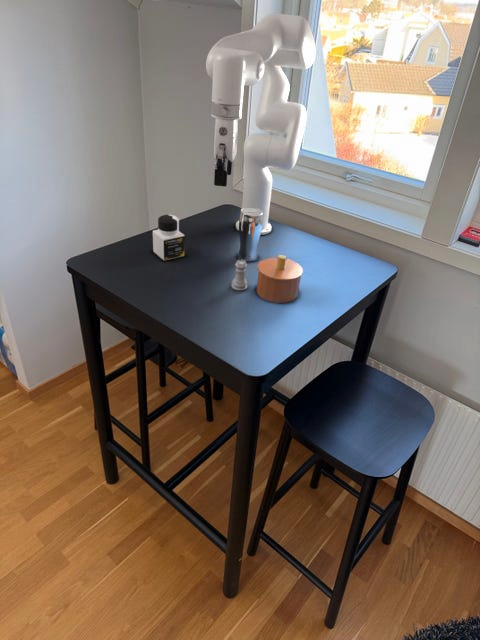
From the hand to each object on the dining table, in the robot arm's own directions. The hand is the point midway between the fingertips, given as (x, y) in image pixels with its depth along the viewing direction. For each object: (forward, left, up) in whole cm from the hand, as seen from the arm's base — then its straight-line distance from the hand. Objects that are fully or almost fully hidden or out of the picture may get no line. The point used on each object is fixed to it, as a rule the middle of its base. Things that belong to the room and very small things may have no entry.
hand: (222, 179), depth 124 cm
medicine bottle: (-5, -16, -26) cm, 31 cm away
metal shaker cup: (-9, +8, -26) cm, 29 cm away
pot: (+10, +18, -26) cm, 33 cm away
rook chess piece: (+10, +7, -26) cm, 29 cm away
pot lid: (+10, +18, -19) cm, 28 cm away
